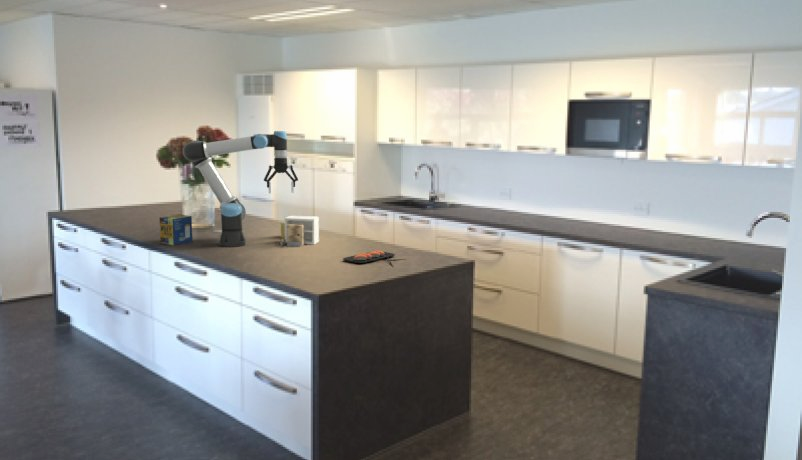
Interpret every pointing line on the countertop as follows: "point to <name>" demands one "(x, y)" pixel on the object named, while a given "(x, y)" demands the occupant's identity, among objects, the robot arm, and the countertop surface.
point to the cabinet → (309, 229)
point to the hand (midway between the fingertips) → (281, 192)
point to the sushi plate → (371, 257)
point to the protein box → (176, 229)
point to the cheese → (283, 230)
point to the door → (295, 233)
